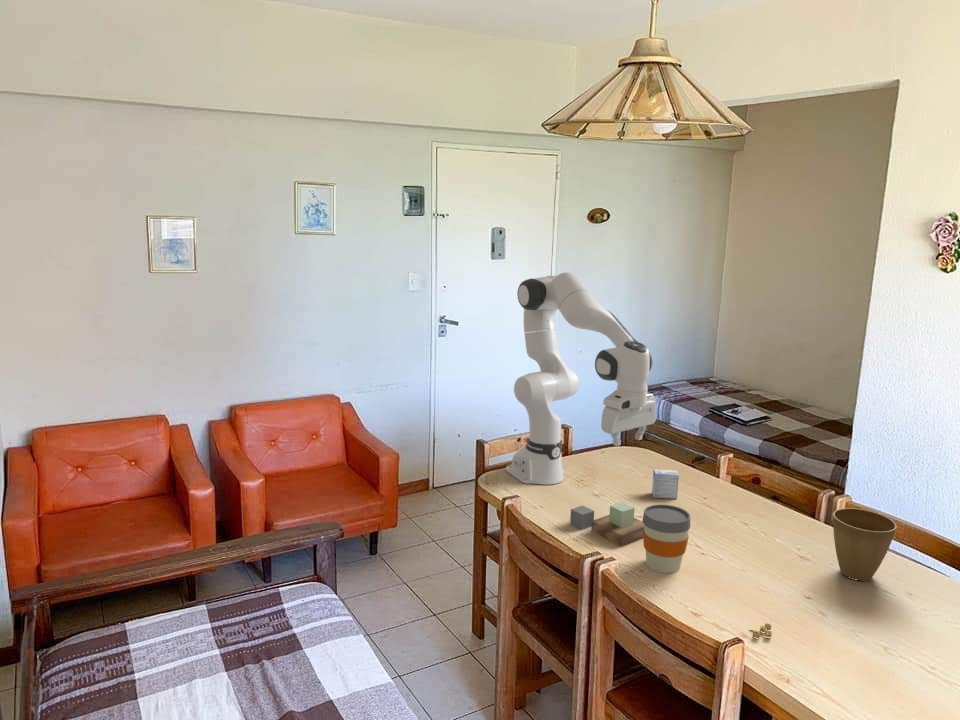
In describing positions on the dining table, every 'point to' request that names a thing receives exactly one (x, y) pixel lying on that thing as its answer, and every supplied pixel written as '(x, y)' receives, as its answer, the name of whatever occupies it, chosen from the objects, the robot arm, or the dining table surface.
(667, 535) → the reusable coffee cup
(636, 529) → the walnut plinth
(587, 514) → the charcoal block
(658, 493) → the medicine box
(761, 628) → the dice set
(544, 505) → the dining table surface
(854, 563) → the plant pot
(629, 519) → the sage block
